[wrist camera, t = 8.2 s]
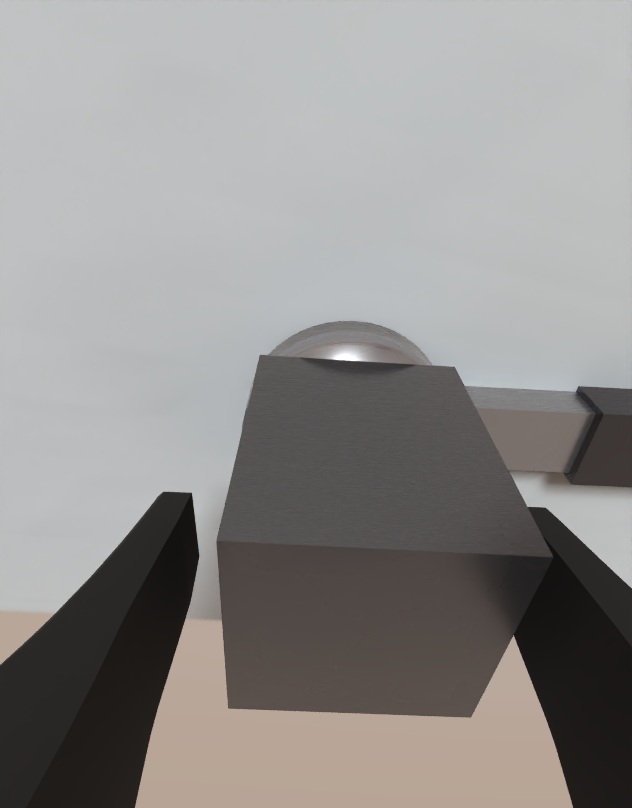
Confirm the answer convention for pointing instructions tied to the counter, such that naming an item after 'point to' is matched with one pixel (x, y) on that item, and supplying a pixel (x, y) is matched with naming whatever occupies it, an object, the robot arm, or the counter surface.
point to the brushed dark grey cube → (369, 543)
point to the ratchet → (506, 408)
